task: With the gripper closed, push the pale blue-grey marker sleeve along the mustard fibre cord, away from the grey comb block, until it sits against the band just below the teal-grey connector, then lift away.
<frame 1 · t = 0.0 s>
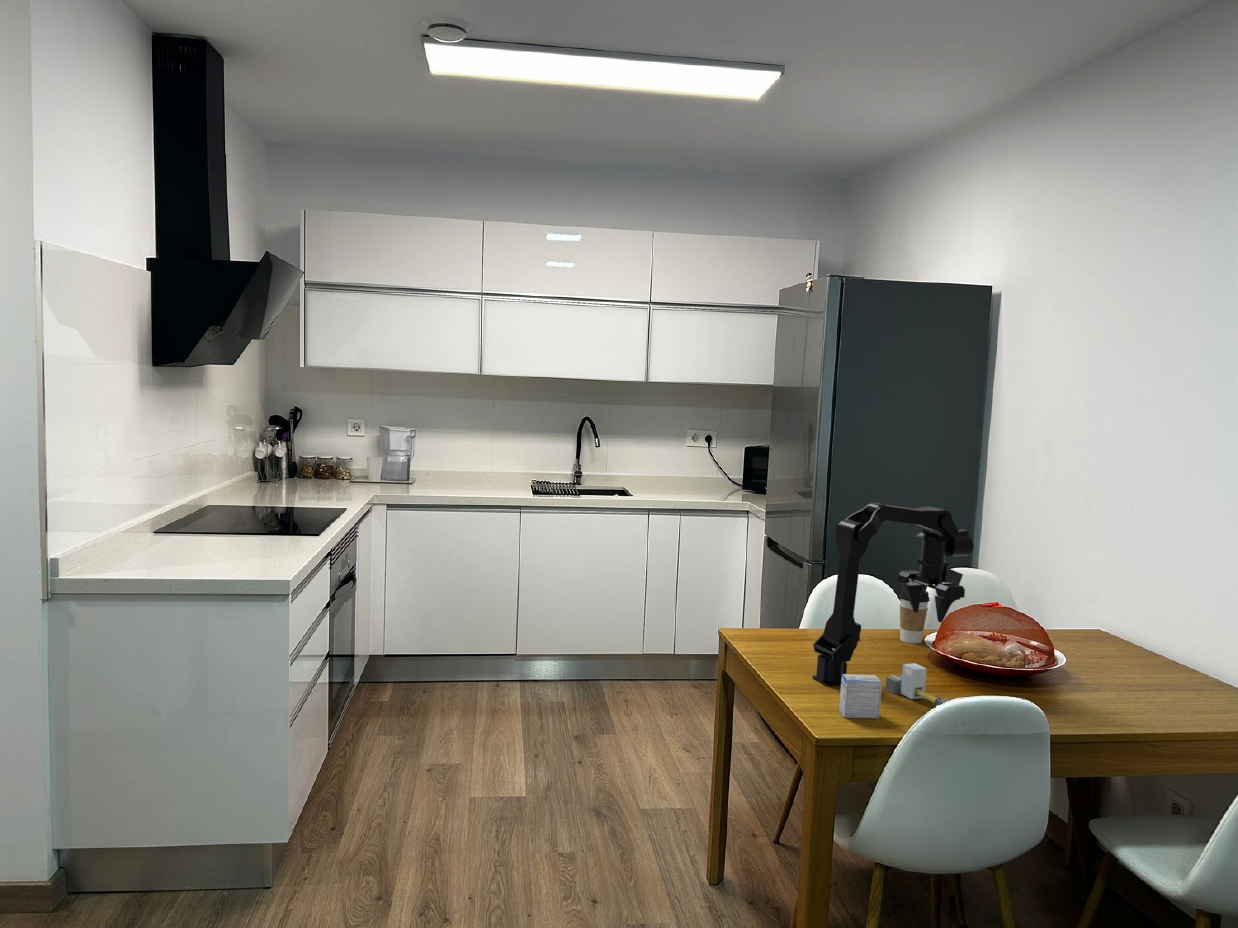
hand: (927, 616, 236), 15 cm above the table, fingers open, 9 cm apart
coffee cup: (910, 641, 266), on the table
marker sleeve: (913, 680, 218), point 4 cm above the table, slide at 0.0 cm
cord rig: (920, 701, 215), on the table
medicine box: (858, 715, 205), on the table
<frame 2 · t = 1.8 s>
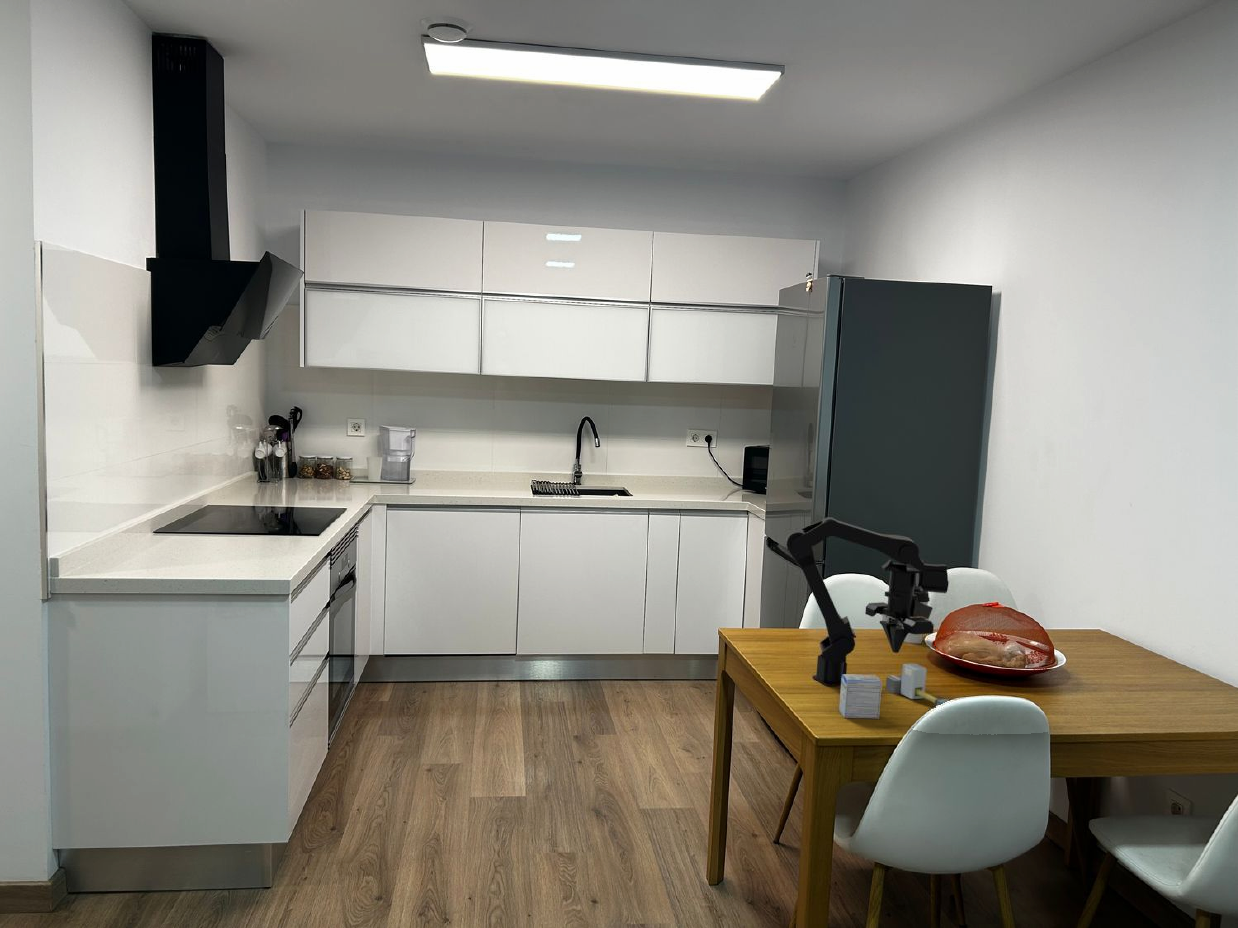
hand: (895, 652, 224), 9 cm above the table, fingers closed
nothing on the table moved.
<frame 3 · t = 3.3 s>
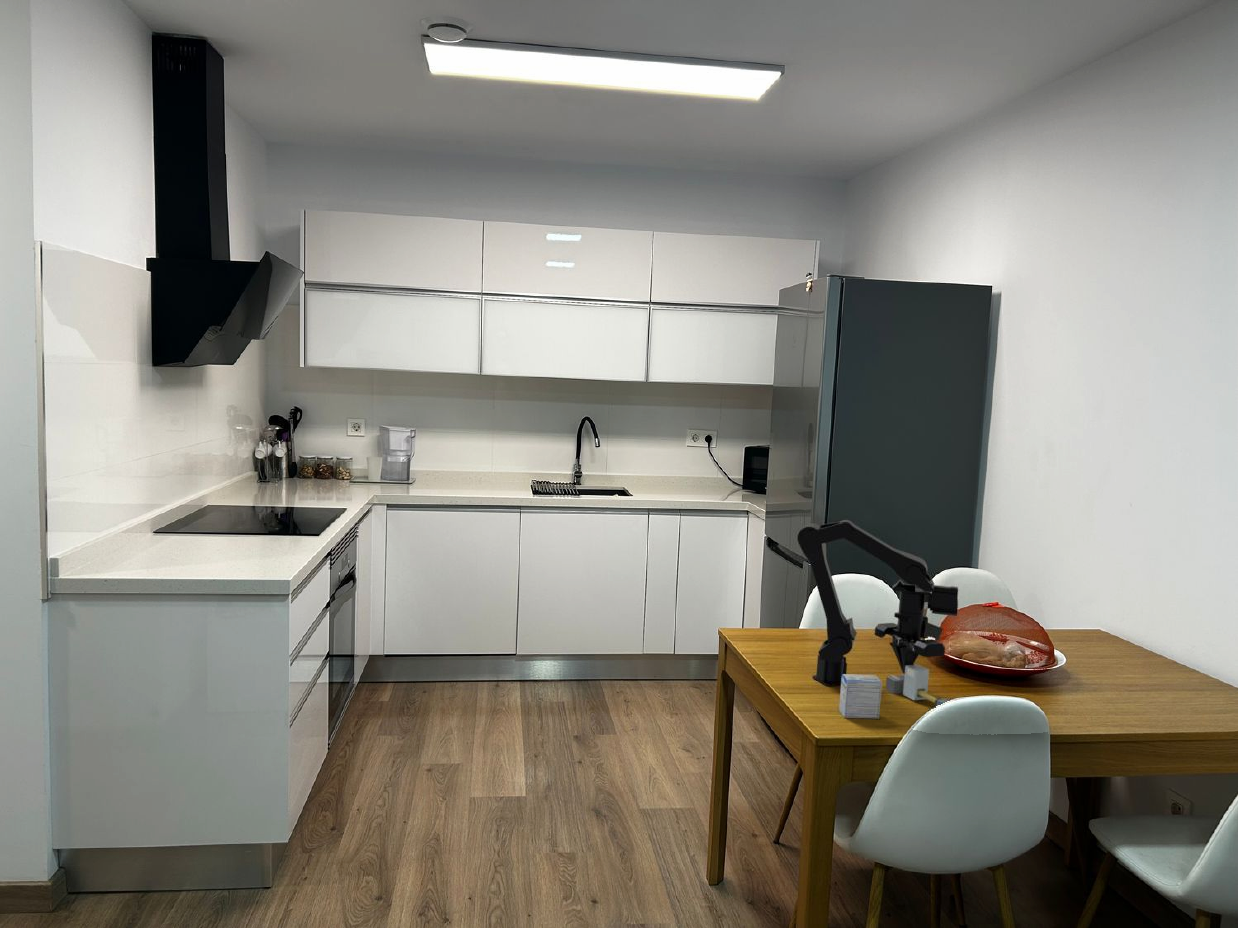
hand: (905, 674, 220), 5 cm above the table, fingers closed
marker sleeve: (915, 682, 217), point 4 cm above the table, slide at 0.9 cm, touching gripper
everything else where it was.
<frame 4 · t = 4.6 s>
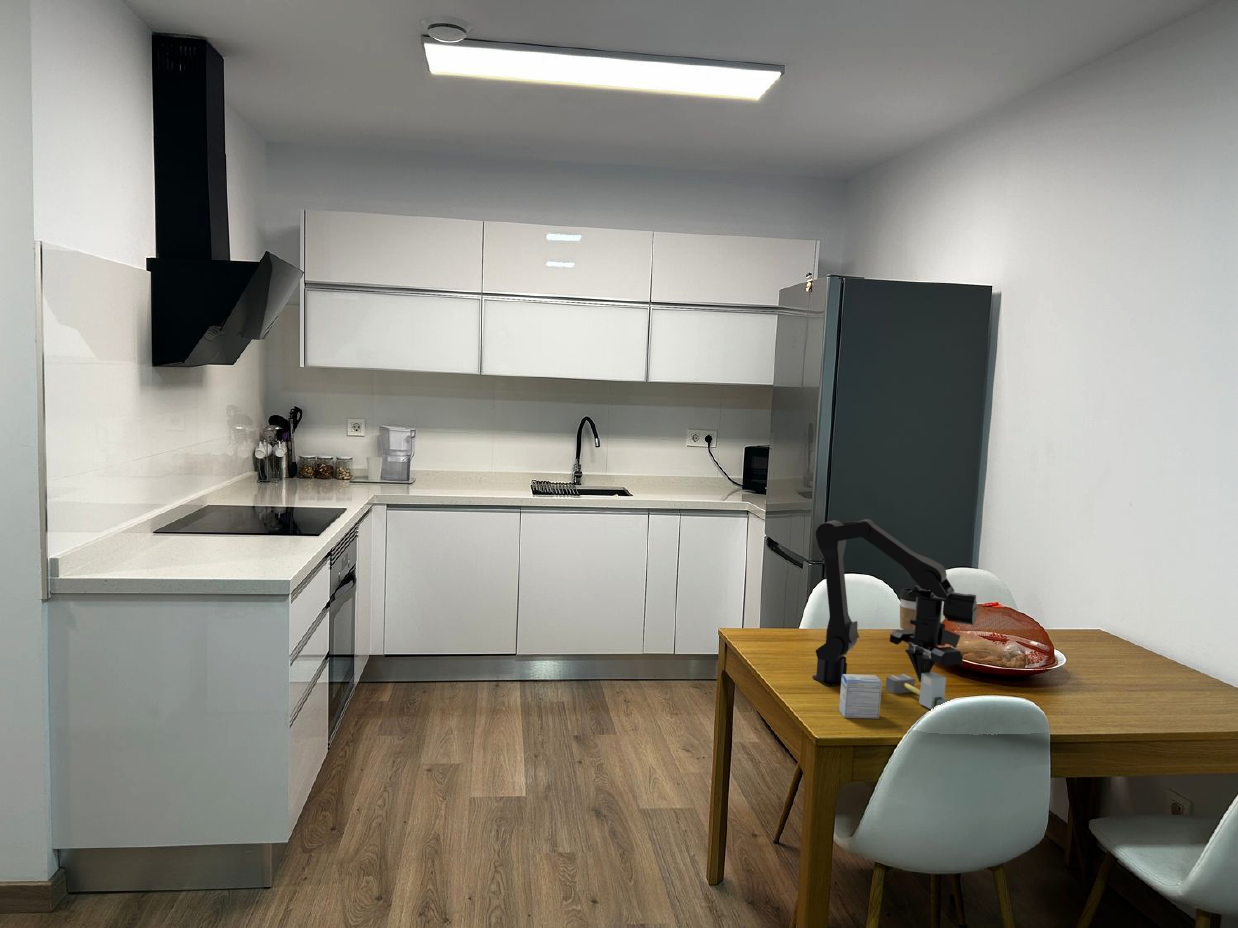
hand: (922, 682, 215), 5 cm above the table, fingers closed
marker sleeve: (932, 690, 212), point 4 cm above the table, slide at 6.6 cm, touching gripper
everything else where it was.
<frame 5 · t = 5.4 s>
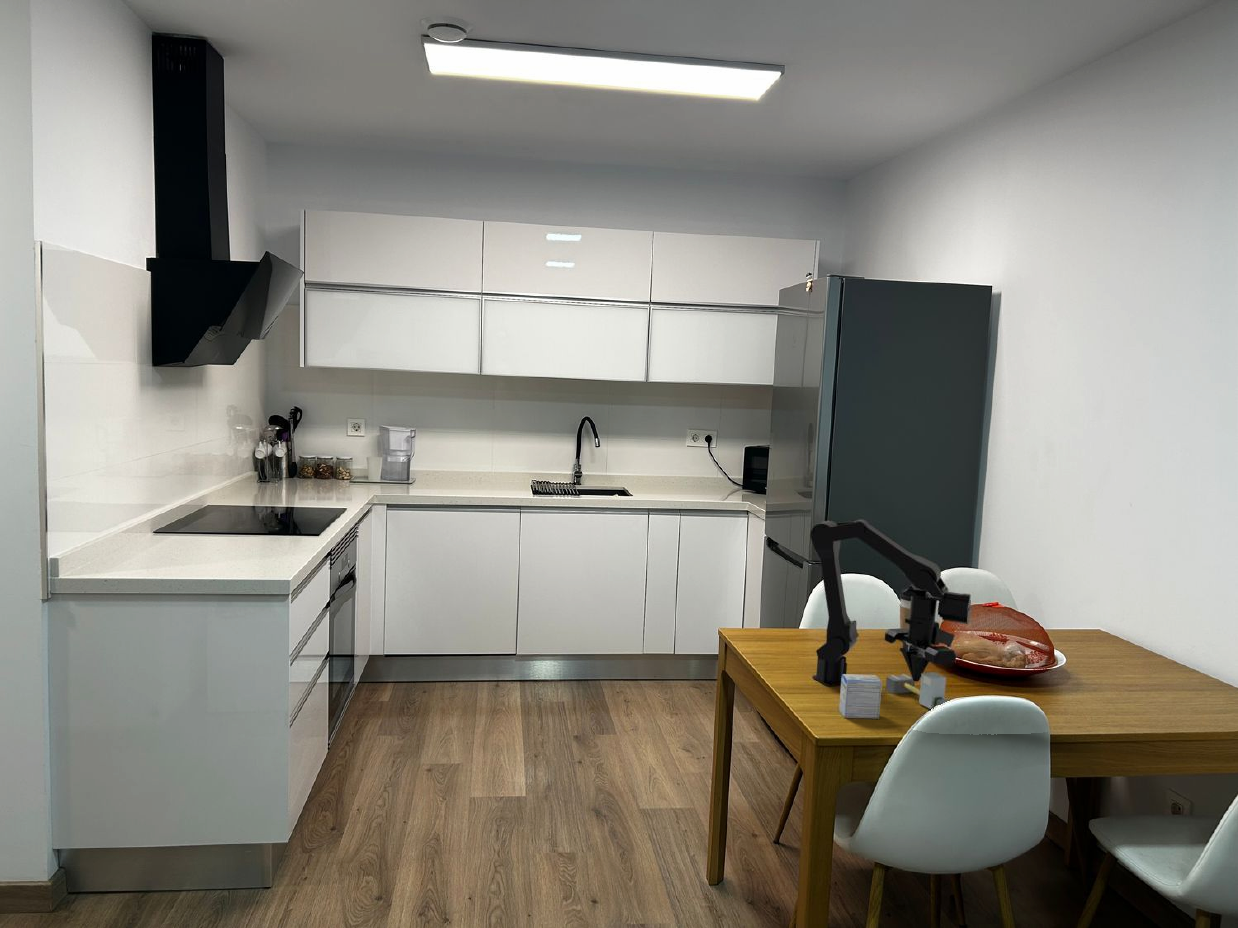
hand: (916, 680, 217), 4 cm above the table, fingers closed
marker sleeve: (932, 690, 212), point 4 cm above the table, slide at 6.6 cm
everything else where it was.
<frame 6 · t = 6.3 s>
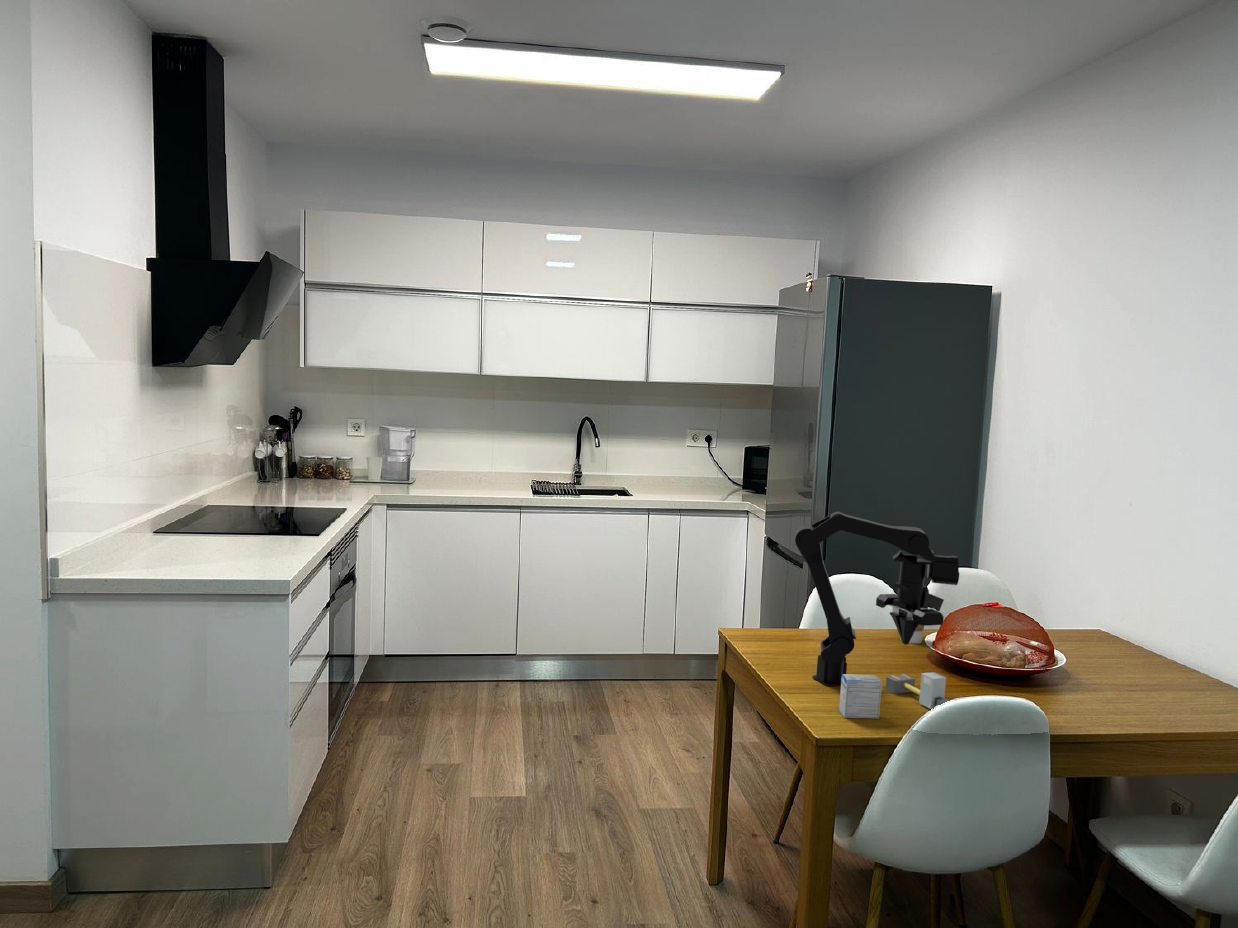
hand: (905, 644, 222), 11 cm above the table, fingers closed
nothing on the table moved.
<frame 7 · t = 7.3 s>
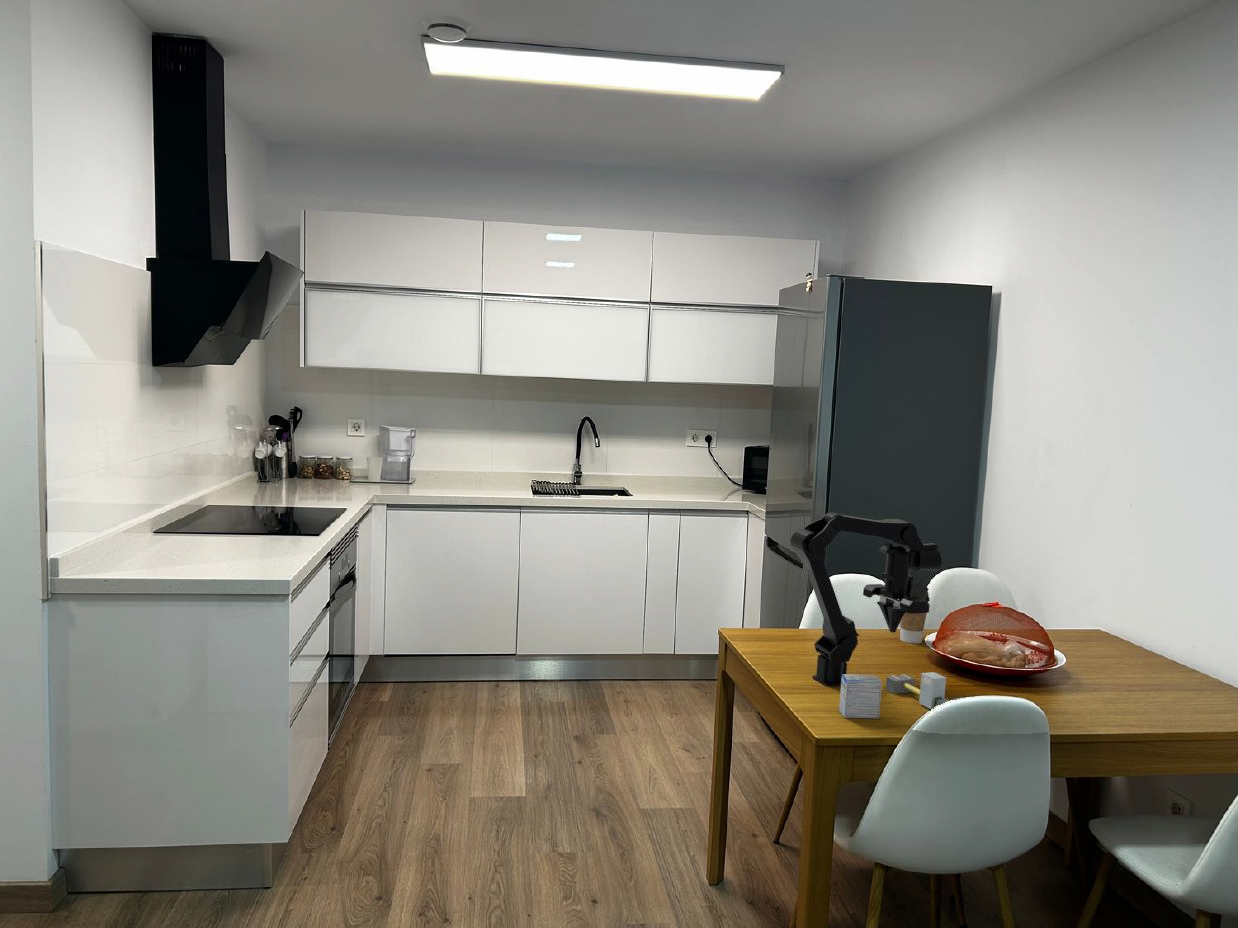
hand: (892, 632, 230), 12 cm above the table, fingers closed
nothing on the table moved.
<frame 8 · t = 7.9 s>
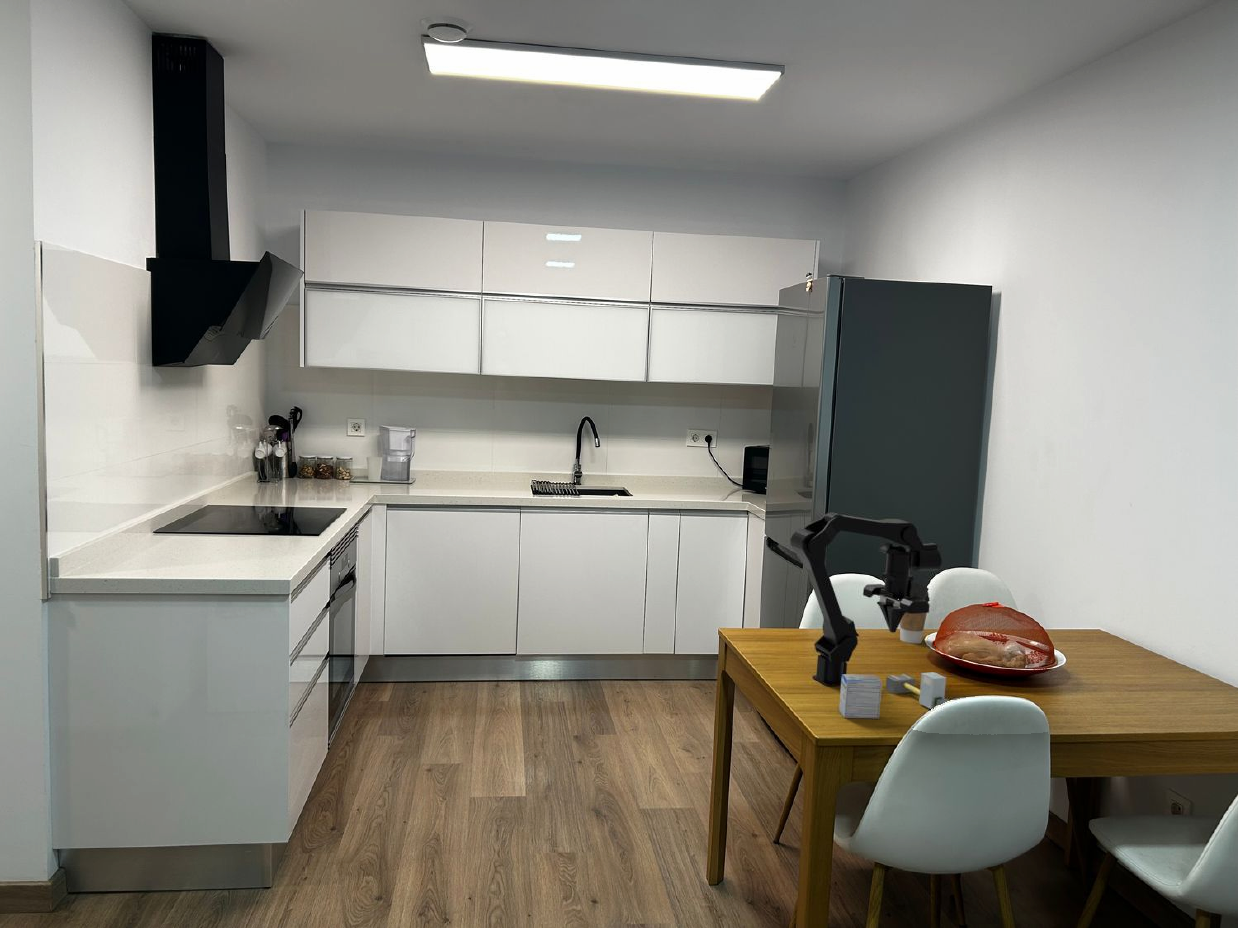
hand: (892, 632, 230), 12 cm above the table, fingers closed
nothing on the table moved.
at the end: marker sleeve slide at 6.6 cm; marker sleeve touching nothing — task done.
